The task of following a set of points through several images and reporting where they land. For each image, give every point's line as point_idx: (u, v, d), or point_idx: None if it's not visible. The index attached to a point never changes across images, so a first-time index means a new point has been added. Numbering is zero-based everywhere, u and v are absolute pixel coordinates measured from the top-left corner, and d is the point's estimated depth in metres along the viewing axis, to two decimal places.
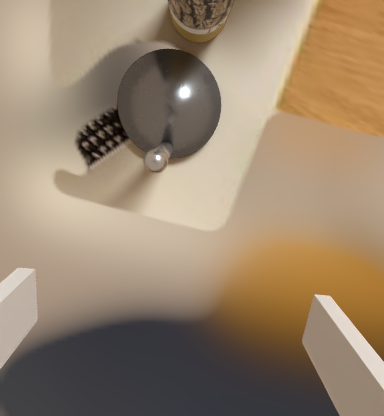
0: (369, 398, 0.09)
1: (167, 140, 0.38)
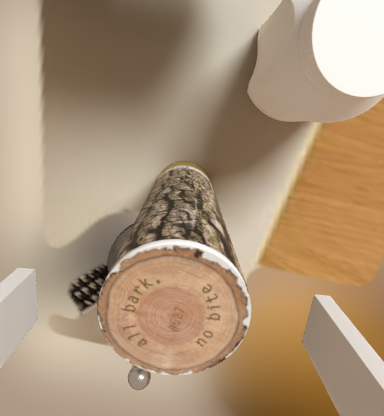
0: (369, 398, 0.09)
1: None
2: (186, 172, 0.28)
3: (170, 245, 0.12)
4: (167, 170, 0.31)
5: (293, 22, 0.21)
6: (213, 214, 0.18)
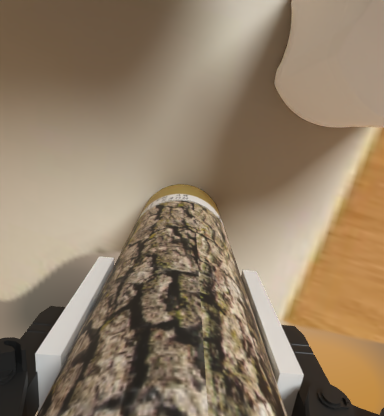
0: None
1: None
2: (184, 211, 0.17)
3: None
4: (155, 202, 0.20)
5: None
6: (250, 368, 0.07)
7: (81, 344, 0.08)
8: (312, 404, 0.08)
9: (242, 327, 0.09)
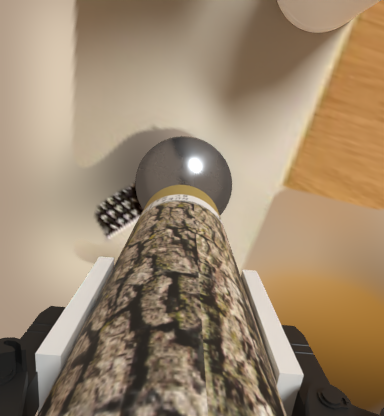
0: None
1: None
2: (184, 211, 0.17)
3: None
4: (155, 202, 0.20)
5: None
6: (250, 370, 0.07)
7: (81, 346, 0.08)
8: (312, 404, 0.08)
9: (242, 329, 0.09)
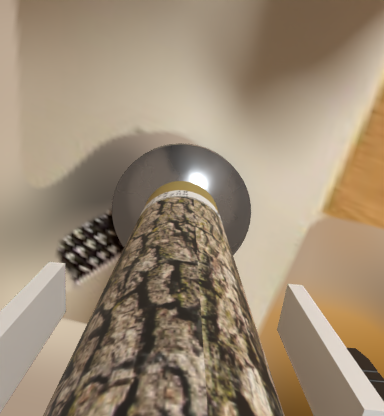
0: (327, 376, 0.10)
1: None
2: (184, 206, 0.18)
3: None
4: (157, 198, 0.22)
5: None
6: (241, 341, 0.08)
7: (95, 322, 0.09)
8: None
9: (236, 309, 0.10)
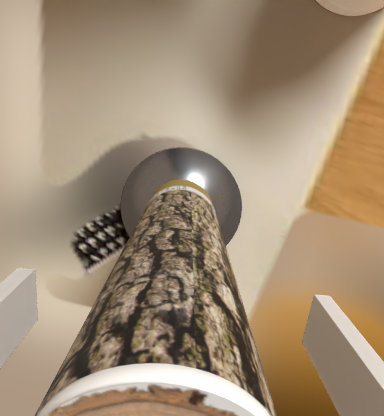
0: (369, 398, 0.09)
1: None
2: (183, 196, 0.22)
3: (144, 381, 0.06)
4: (160, 192, 0.26)
5: None
6: (219, 273, 0.12)
7: (119, 265, 0.13)
8: None
9: (218, 258, 0.14)
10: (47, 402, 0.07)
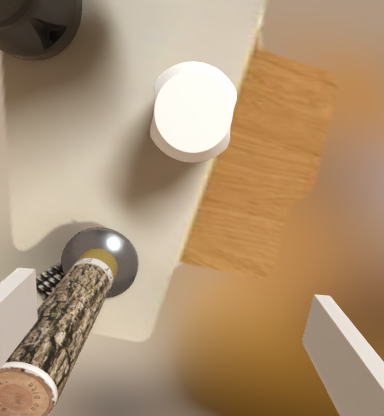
0: (369, 397, 0.09)
1: None
2: (82, 271, 0.41)
3: (10, 366, 0.25)
4: (77, 262, 0.44)
5: (154, 102, 0.33)
6: (64, 325, 0.31)
7: None
8: None
9: (71, 317, 0.33)
10: None
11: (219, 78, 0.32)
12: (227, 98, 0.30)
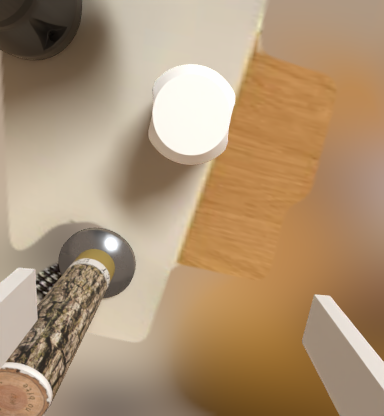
0: (369, 398, 0.09)
1: None
2: (79, 271, 0.41)
3: (5, 367, 0.25)
4: (74, 262, 0.45)
5: None
6: (60, 326, 0.31)
7: None
8: None
9: (67, 317, 0.33)
10: None
11: (218, 81, 0.32)
12: (225, 101, 0.30)
